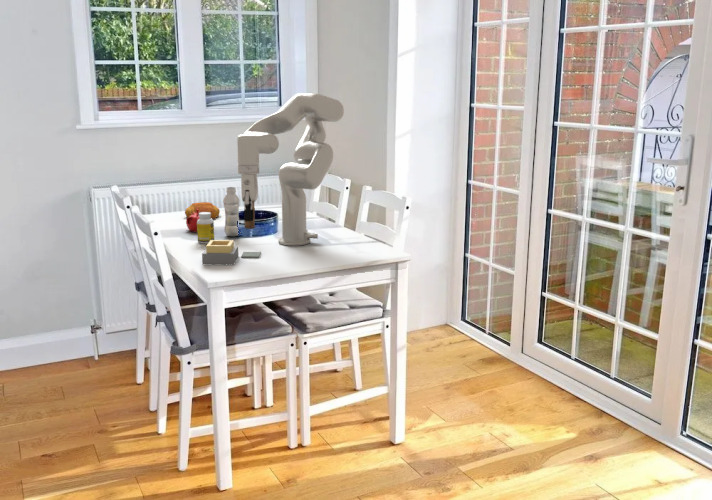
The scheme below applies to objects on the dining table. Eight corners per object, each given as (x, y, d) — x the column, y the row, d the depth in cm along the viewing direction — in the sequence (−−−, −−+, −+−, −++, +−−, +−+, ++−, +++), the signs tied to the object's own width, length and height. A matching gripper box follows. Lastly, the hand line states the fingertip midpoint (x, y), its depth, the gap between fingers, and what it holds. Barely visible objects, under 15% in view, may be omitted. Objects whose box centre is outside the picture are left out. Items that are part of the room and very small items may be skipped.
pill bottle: (210, 244, 277) (209, 215, 274) (195, 243, 278) (193, 214, 275) (217, 240, 283) (215, 211, 280) (201, 239, 284) (200, 211, 281)
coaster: (261, 253, 264) (261, 251, 264) (259, 258, 258) (259, 256, 258) (243, 253, 264) (243, 251, 264) (241, 257, 258) (241, 256, 258)
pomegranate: (212, 228, 305) (211, 207, 302) (208, 233, 295) (207, 211, 293) (188, 227, 304) (188, 206, 302) (184, 232, 295) (183, 210, 292)
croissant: (186, 219, 331) (183, 202, 329) (220, 213, 334) (217, 197, 331) (186, 225, 317) (183, 208, 315) (221, 219, 320) (218, 202, 318)
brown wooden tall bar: (255, 226, 260) (254, 186, 256) (254, 228, 256) (253, 187, 253) (245, 226, 260) (244, 186, 256) (244, 228, 256) (243, 187, 253)
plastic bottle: (233, 238, 286) (232, 189, 281) (221, 236, 289) (219, 188, 284) (244, 235, 291) (242, 187, 286) (231, 233, 295) (230, 185, 290)
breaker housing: (238, 256, 259) (237, 239, 258) (233, 264, 249) (233, 246, 247) (208, 256, 259) (207, 239, 258) (202, 264, 249) (201, 246, 247)
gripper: (256, 172, 245) (257, 224, 249) (261, 166, 261) (262, 215, 265) (234, 172, 245) (235, 224, 249) (241, 166, 261) (242, 215, 265)
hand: (249, 219), depth 257 cm, fingers closed on brown wooden tall bar, 3 cm apart
